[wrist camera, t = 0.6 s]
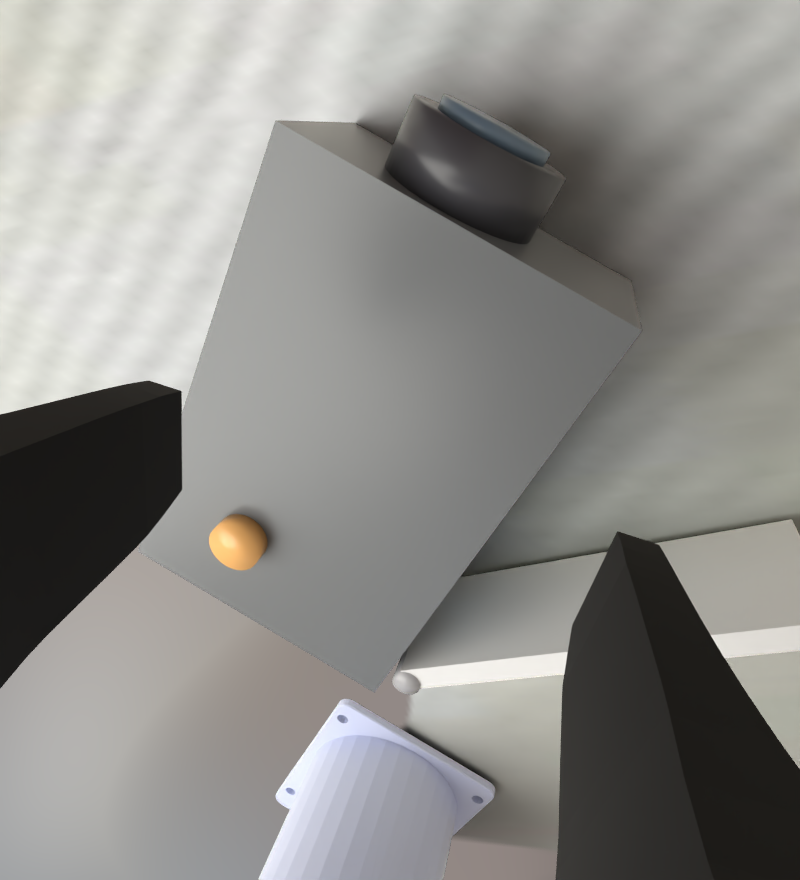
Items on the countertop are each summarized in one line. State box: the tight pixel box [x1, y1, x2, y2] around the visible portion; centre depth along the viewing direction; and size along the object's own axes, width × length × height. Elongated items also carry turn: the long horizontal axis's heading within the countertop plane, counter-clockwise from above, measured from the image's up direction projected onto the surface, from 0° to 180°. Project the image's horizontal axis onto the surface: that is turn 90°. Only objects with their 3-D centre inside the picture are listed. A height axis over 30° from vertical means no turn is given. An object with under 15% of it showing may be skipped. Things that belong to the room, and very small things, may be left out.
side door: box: [393, 519, 800, 694], centre depth 20 cm, size 12×1×5 cm, turn 114°
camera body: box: [138, 94, 642, 692], centre depth 18 cm, size 16×9×6 cm, turn 154°
